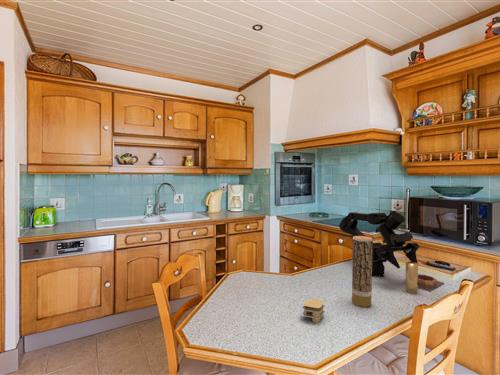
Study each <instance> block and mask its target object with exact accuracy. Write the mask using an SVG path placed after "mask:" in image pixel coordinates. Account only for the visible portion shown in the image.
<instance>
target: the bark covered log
mask: <svg viewBox="0 0 500 375" xmlns="http://www.w3.org/2000/svg"><path fill="white" fill-rule="evenodd" d="M372 242H374V241H373V238H372V237H371V236H366V235H365V236H354V237H353V236H352V262H351V264H352V265H351V266H352V269H351V271H352V272H351V273H352V274H351V278H352V279H351V283H352V284H351V303H352V304H354V305H356V306H357V307H361V308H368V307H370V306H371V305H372V293H373V292H372V290H373V288H372V287H373V286H372V285H373V276H372Z"/></svg>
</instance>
